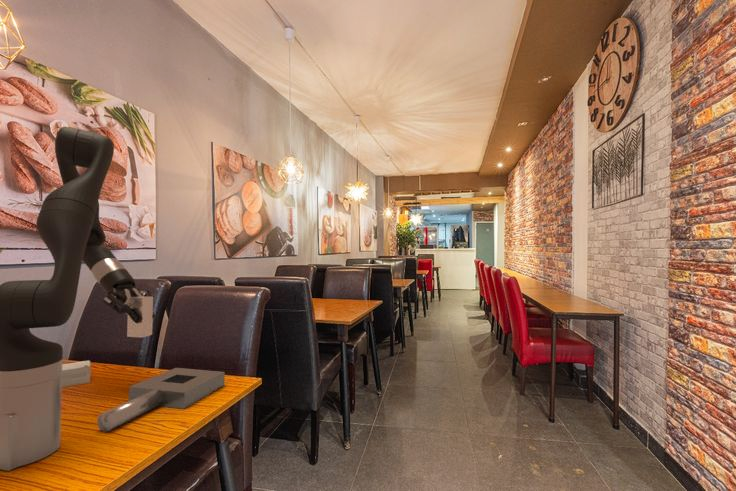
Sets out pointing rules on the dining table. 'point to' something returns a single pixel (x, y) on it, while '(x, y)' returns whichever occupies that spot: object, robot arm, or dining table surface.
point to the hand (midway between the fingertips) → (146, 319)
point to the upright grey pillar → (146, 311)
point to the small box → (75, 373)
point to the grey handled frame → (163, 394)
